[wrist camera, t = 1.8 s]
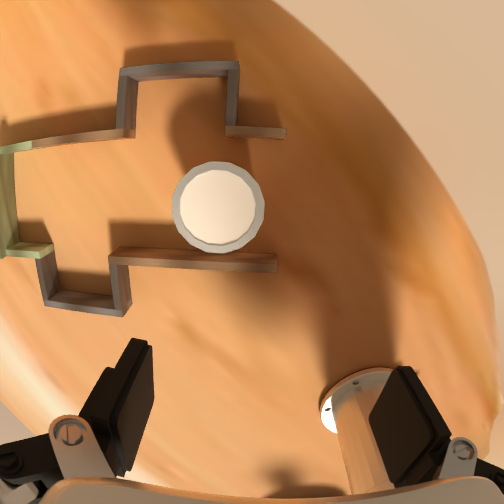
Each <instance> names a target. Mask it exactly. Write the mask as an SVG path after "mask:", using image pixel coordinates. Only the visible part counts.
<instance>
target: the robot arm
mask: <svg viewBox="0 0 504 504" xmlns="http://www.w3.org/2000/svg"><path fill="white" fill-rule="evenodd" d="M153 402H154V382H153V357H152V346H151V345H148V343H147V341H146V340H141V339H136V338H131V340H130V342H129V343H128V345H127V347H126V348H125V350H124V352H123V354H122V356H121V357H120V359H119V361H118V363H117V364H116V366H115V368H111V367H106V368H105V370H104V371H103V373H102V374H101V376H100V378H99V380H98V381H97V383H96V385H95V386H94V388H93V390H92V392H91V393H90V395H89V397H88V399H87V401H86V402H85V404H84V406H83V408H82V410H81V411H80V413H79V415H78V416H76V415H63V416H60V417H58V418H56V419H55V420H53V422H52V423H51V424H50V427H49V433H47V434H43V435H39V436H36V437H32V438H28V439H24V440H19V441H15V442H11V443H6V444H2V445H0V504H504V470H503V469H501V468H499V467H497V466H494V465H492V464H490V463H487V462H485V461H483V460H481V459H479V458H477V449H476V446H475V445H474V444H473V443H472V442H471V441H470V440H468V439H466V438H463V437H457V438H454V439H452V440H450V438H449V437H450V436H451V435H452V434H451V432H450V430H449V428H448V427H447V425H446V423H445V421H444V420H443V418H442V416H441V414H440V413H439V411H438V409H437V408H436V406H435V404H434V403H433V401H432V399H431V398H430V396H429V394H428V393H427V391H426V389H425V388H424V386H423V384H422V383H421V381H420V380H419V378H418V376H417V375H416V373H415V372H414V370H413V368H412V367H410V366H398V367H396V369H395V370H393V369H390V368H383V367H378V368H370V369H365V370H362V371H359V372H356V373H354V374H352V375H350V376H348V377H346V378H344V379H343V380H341V381H340V382H338V383H337V384H336V385H335V386H333V387H332V388H331V389H330V390H329V392H328V393H327V394H326V395H325V397H324V399H323V400H322V403H321V406H320V415H321V420H322V422H323V424H324V425H325V426H326V428H328V429H329V430H331V431H333V432H335V433H337V436H338V439H339V443H340V447H341V451H342V455H343V459H344V464H345V468H346V472H347V476H348V480H349V484H350V489H351V493H352V495H346V496H336V497H322V498H297V499H274V498H248V497H234V496H223V495H214V494H206V493H199V492H191V491H185V490H178V489H172V488H167V487H162V486H157V485H151V484H146V483H141V482H136V481H130V480H124V479H117V478H116V476H117V475H118V476H121V477H124V475H125V472H126V470H127V471H131V469H132V467H133V464H134V460H135V457H136V454H137V451H138V448H139V445H140V442H141V439H142V436H143V433H144V430H145V427H146V424H147V421H148V418H149V415H150V412H151V409H152V406H153Z"/></svg>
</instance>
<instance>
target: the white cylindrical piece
mask: <svg viewBox="0 0 504 504" xmlns="http://www.w3.org/2000/svg"><path fill="white" fill-rule="evenodd" d="M264 207H265V201H264V198H263V195H262V192H261V189H260V186H259V184H258V183H257V182H256V181H255V180H254V178H253V177H252V176H251V175H250V174H249V173H248V172H247V170H245V169H242V168H240V167H238V166H236V165H234V164H232V163H230V162H216V161H210V162H207V163H204V164H202V165H199V166H196V167H193V168H192V169H191V170H190V171H189V172H188V173H187V174H186V175H185V176H184V177H182V178H181V179H180V180H179V183H178V185H177V187H176V189H175V192H174V194H173V196H172V216H173V219H174V222H175V224H176V227H177V229H178V232H179V233H180V234H181V235H182V236H183V237H184V238H185V239H186V240H187V241H188V242H189V243H190V244H191V245H193V246H195V247H197V248H199V249H201V250H203V251H205V252H212V253H227V252H230V251H233V250H237V249H240V248H242V247H243V246H244V245H245V244H247V243H248V242H249V241H250V240H251V239H253V238H254V237H255V236H256V234H257V232H258V230H259V228H260V226H261V224H262V222H263V219H264Z"/></svg>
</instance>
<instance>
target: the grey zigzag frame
mask: <svg viewBox="0 0 504 504" xmlns="http://www.w3.org/2000/svg"><path fill="white" fill-rule="evenodd" d="M203 77H228V83H227V101H226V120H225V135H226V136H227V137H247V138H267V139H285V138H286V129H285V128H271V127H252V126H237V117H238V97H239V79H240V67H239V61H191V62H173V63H160V64H150V65H141V66H132V67H125V68H120V71H119V82H118V93H117V108H116V127H115V129H112V130H102V131H93V132H84V133H76V134H69V135H62V136H55V137H49V138H43V139H37V140H31V141H26V142H21V143H16V144H11V145H6V146H2V147H0V259H2V258H4V257H6V256H13V257H24V258H35V261H36V267H37V272H38V278H39V283H40V288H41V292H42V297H43V301H44V305H45V306H48V307H54V308H60V309H66V310H72V311H79V312H86V313H93V314H101V315H108V316H116V317H123V316H124V315H125V314H126V312H127V311H128V309H129V308H130V307H131V305H132V297H131V289H130V279H129V269H128V265H132V266H148V267H165V268H182V269H200V270H220V271H240V272H262V273H277V260H276V255H275V254H264V253H243V252H227V253H212V252H205V251H200V250H178V249H157V248H135V247H119V248H118V249H116V250H115V251H114V252H112V253H111V254H110V255H109V256H108V261H109V270H110V278H111V286H112V293H113V296H109V295H100V294H91V293H82V292H74V291H66V290H61V288H60V283H59V277H58V271H57V265H56V259H55V252H54V244H51V243H30V242H20V237H19V230H18V221H17V211H16V200H15V184H14V152H20V151H26V150H32V149H38V148H45V147H51V146H59V145H67V144H75V143H84V142H94V141H105V140H117V139H132V138H135V129H136V109H137V94H138V82H139V81H149V80H161V79H177V78H203Z"/></svg>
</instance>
